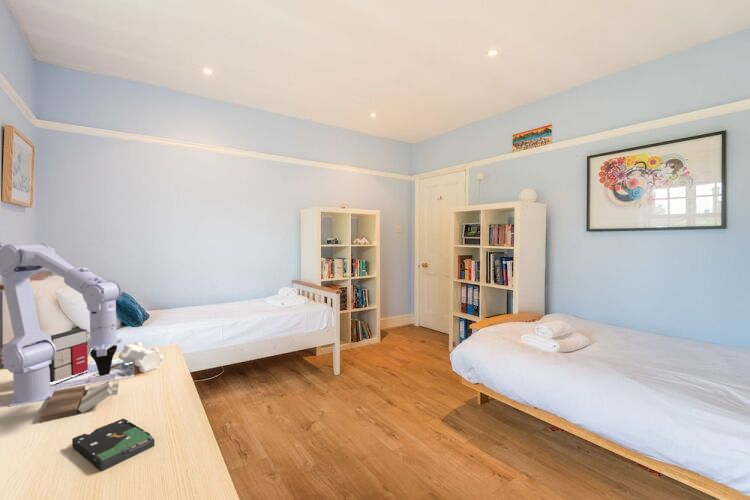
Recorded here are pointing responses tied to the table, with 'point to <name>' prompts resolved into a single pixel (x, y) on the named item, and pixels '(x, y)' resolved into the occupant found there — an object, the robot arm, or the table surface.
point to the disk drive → (112, 444)
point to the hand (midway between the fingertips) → (104, 374)
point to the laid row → (63, 404)
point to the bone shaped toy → (141, 356)
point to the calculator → (69, 354)
